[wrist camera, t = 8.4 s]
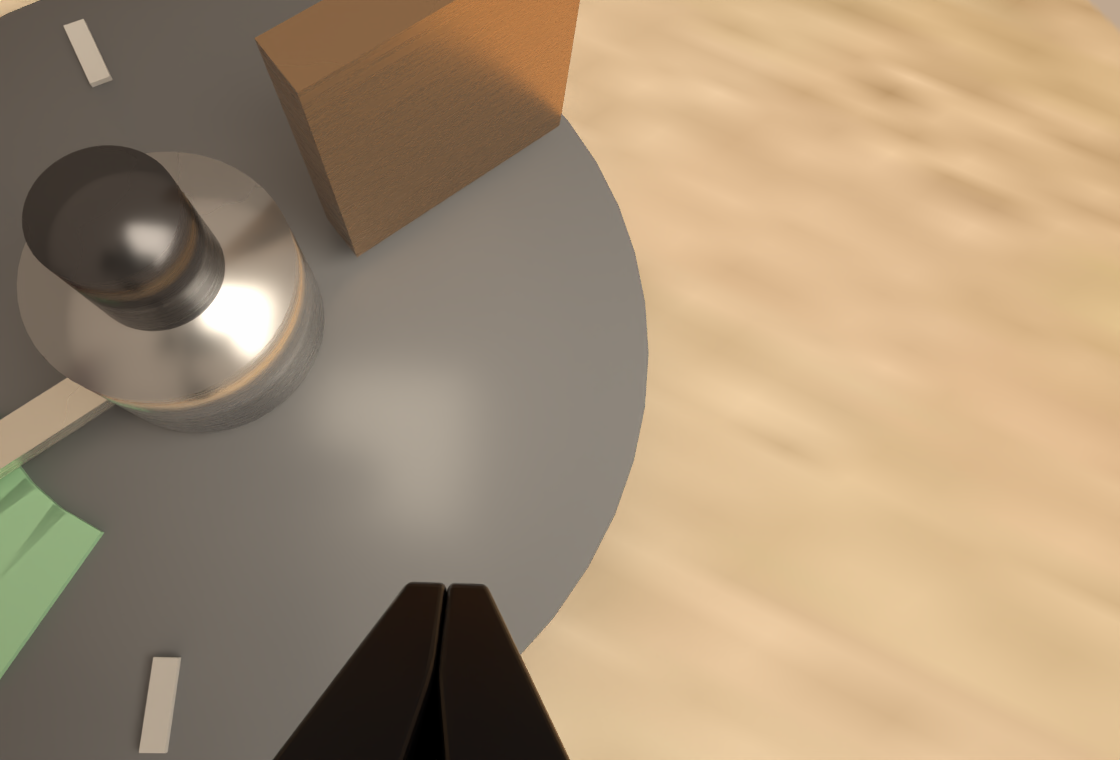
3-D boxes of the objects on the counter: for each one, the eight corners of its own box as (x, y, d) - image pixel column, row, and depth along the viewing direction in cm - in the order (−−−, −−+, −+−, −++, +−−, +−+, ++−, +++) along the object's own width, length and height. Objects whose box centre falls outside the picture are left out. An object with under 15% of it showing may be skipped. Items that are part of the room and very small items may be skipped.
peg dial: (-188, 724, 16) (-626, 805, 9) (-309, 515, 16) (-786, 462, 10) (607, 181, 20) (662, -4, 14) (484, 36, 21) (484, -200, 15)
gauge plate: (-62, 1006, 16) (-105, 1038, 15) (-338, 165, 20) (-389, 137, 18) (789, 518, 20) (808, 514, 19) (424, -102, 24) (422, -138, 22)
